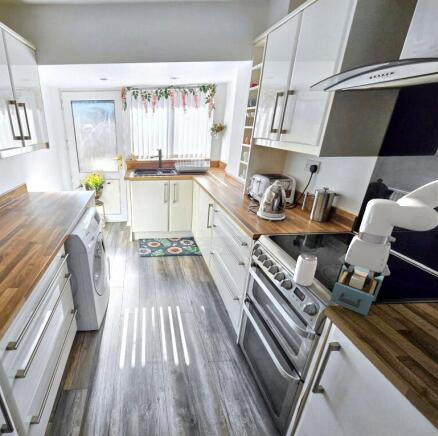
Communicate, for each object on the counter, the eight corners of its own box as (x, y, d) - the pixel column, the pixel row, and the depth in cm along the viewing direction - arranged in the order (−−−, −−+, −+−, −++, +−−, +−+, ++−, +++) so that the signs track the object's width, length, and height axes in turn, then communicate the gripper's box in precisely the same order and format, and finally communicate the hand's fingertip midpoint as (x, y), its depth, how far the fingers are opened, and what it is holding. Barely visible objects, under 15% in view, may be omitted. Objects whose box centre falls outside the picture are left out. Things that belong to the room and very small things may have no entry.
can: (295, 285, 97) (300, 259, 92) (292, 276, 102) (297, 251, 98) (313, 288, 95) (320, 262, 90) (309, 278, 100) (315, 253, 96)
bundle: (353, 277, 88) (355, 269, 87) (365, 281, 86) (368, 273, 85) (348, 285, 84) (351, 277, 83) (361, 289, 82) (364, 281, 81)
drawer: (364, 322, 77) (371, 303, 74) (326, 306, 84) (331, 288, 81) (373, 298, 87) (379, 281, 84) (338, 286, 94) (343, 269, 91)
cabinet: (374, 301, 86) (382, 280, 83) (336, 287, 95) (342, 267, 91) (380, 285, 95) (388, 265, 91) (344, 273, 103) (350, 254, 99)
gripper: (410, 241, 75) (390, 289, 81) (344, 226, 87) (332, 269, 93) (408, 249, 70) (387, 299, 77) (339, 232, 82) (326, 277, 89)
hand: (357, 282), depth 85 cm, fingers closed on bundle, 3 cm apart
